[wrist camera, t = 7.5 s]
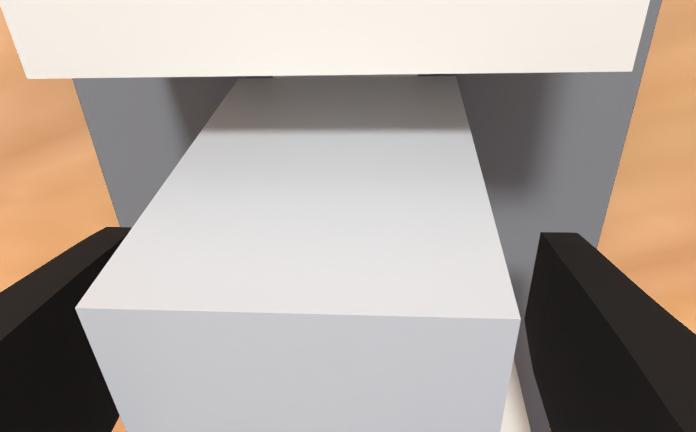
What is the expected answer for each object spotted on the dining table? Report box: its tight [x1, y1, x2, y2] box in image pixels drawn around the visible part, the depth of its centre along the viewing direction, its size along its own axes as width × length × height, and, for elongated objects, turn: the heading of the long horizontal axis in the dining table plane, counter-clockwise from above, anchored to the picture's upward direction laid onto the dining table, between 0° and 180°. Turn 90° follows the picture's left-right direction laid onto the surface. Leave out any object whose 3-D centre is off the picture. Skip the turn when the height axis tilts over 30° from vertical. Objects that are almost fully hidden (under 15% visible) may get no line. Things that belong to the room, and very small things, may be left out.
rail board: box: [72, 0, 662, 432], centre depth 13 cm, size 26×12×1 cm, turn 2°
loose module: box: [75, 76, 521, 432], centre depth 10 cm, size 5×4×7 cm
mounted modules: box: [0, 0, 650, 432], centre depth 11 cm, size 16×8×4 cm, turn 2°
